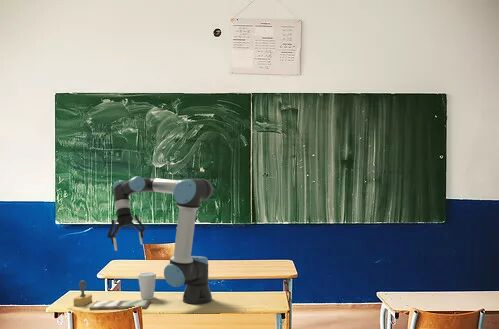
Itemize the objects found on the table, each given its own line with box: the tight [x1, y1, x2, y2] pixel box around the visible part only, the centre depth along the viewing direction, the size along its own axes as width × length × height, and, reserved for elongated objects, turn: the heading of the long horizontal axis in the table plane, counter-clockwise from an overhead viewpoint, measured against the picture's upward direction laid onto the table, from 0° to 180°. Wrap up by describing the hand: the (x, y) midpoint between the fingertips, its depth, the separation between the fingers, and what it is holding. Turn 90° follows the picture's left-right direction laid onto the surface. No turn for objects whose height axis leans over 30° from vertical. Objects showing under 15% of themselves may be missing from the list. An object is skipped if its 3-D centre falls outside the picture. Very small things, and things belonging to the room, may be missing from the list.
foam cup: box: [137, 271, 157, 300], centre depth 296 cm, size 10×9×13 cm
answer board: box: [89, 299, 152, 311], centre depth 281 cm, size 28×13×1 cm, turn 91°
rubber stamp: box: [73, 280, 93, 307], centre depth 287 cm, size 10×6×12 cm, turn 172°
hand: (128, 247), depth 289 cm, fingers open, 13 cm apart
